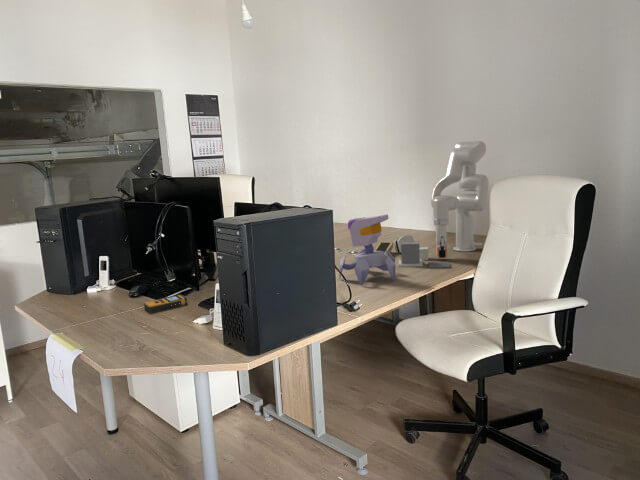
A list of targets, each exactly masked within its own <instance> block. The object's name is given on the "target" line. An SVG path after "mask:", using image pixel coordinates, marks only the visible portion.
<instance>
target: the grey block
mask: <svg viewBox="0 0 640 480" xmlns="http://www.w3.org/2000/svg"><path fill="white" fill-rule="evenodd" d="M419 256H420V260H422V261H429V247H428V246H423V247H422V246H421V247H420V246H419Z"/></svg>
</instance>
